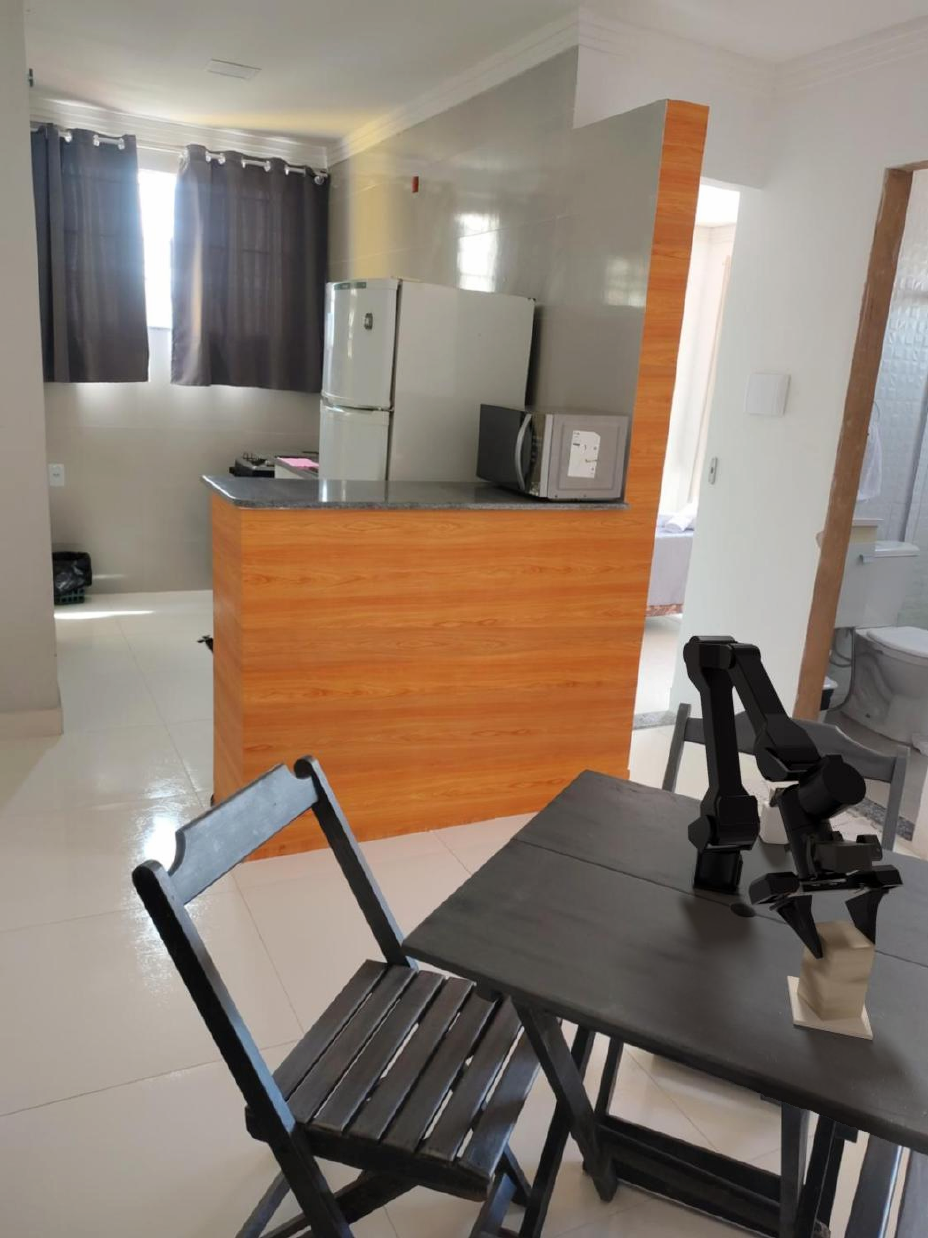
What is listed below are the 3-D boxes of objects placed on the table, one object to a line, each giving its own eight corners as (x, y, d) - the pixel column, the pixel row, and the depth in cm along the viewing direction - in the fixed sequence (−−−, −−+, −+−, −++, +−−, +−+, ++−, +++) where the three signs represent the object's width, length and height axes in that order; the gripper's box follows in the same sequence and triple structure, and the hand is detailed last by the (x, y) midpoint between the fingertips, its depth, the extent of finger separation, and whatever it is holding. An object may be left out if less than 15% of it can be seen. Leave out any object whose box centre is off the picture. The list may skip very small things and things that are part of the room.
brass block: (796, 992, 119) (809, 923, 117) (834, 988, 120) (847, 920, 118) (822, 1021, 114) (835, 949, 111) (861, 1016, 115) (875, 946, 113)
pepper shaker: (787, 845, 159) (795, 794, 156) (763, 844, 159) (772, 793, 156) (779, 834, 163) (788, 784, 160) (756, 833, 163) (764, 782, 160)
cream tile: (793, 1024, 114) (794, 1019, 114) (787, 979, 123) (787, 975, 122) (872, 1040, 112) (872, 1036, 112) (859, 994, 121) (860, 990, 121)
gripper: (775, 814, 112) (813, 949, 105) (908, 807, 117) (953, 936, 109) (733, 841, 122) (765, 967, 114) (857, 833, 126) (896, 954, 119)
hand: (845, 956), depth 114 cm, fingers open, 7 cm apart
